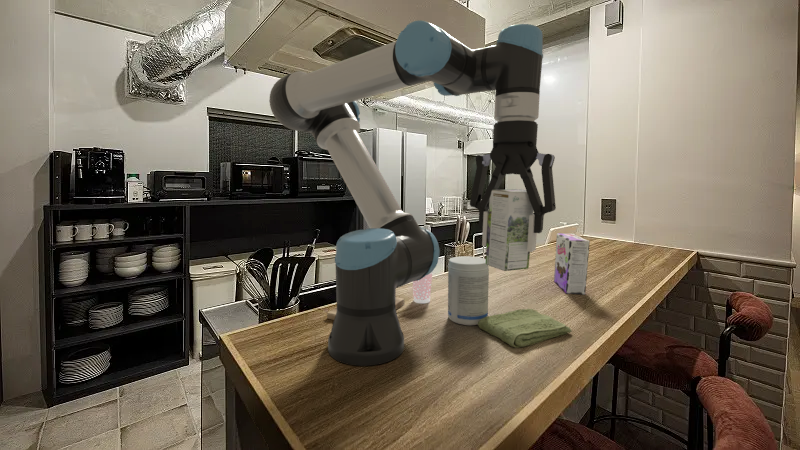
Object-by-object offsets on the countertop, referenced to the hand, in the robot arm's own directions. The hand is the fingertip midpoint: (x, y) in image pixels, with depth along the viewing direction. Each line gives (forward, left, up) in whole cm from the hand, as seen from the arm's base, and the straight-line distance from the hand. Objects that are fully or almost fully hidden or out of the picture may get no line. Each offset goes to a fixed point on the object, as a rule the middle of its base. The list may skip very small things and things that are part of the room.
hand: (508, 247), depth 68 cm
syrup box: (0, 0, -4) cm, 4 cm away
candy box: (+56, -1, -21) cm, 60 cm away
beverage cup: (+18, +30, -21) cm, 41 cm away
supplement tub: (+13, +14, -21) cm, 28 cm away
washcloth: (+14, 0, -22) cm, 26 cm away
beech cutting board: (+3, +37, -21) cm, 42 cm away
